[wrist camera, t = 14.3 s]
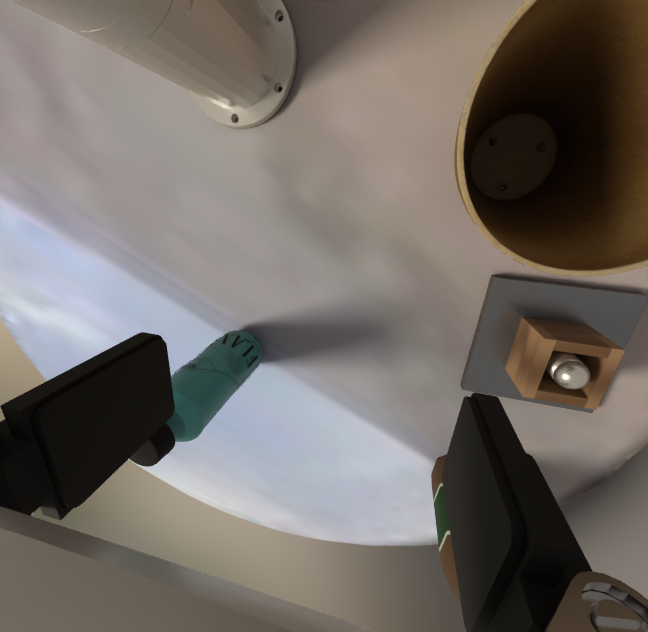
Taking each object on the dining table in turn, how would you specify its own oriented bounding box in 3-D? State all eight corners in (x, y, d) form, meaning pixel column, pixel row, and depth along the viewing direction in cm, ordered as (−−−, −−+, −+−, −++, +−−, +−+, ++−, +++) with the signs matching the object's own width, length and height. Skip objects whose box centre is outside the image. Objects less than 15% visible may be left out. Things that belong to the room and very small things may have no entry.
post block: (491, 275, 33) (517, 296, 26) (641, 292, 31) (716, 322, 23) (460, 383, 38) (474, 427, 31) (586, 406, 36) (633, 459, 29)
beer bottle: (418, 472, 45) (437, 733, 23) (454, 440, 42) (515, 708, 20) (463, 500, 45) (526, 789, 23) (502, 470, 42) (617, 773, 20)
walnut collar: (522, 317, 33) (544, 338, 28) (589, 326, 32) (625, 350, 27) (504, 368, 35) (522, 396, 30) (567, 378, 34) (596, 409, 29)
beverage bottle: (277, 349, 43) (186, 461, 25) (248, 373, 45) (147, 491, 27) (243, 315, 42) (125, 405, 24) (216, 342, 45) (91, 441, 26)
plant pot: (410, 223, 33) (420, 244, 19) (461, 53, 27) (532, -110, 13) (556, 255, 31) (693, 306, 17) (643, 80, 25) (972, -78, 11)
